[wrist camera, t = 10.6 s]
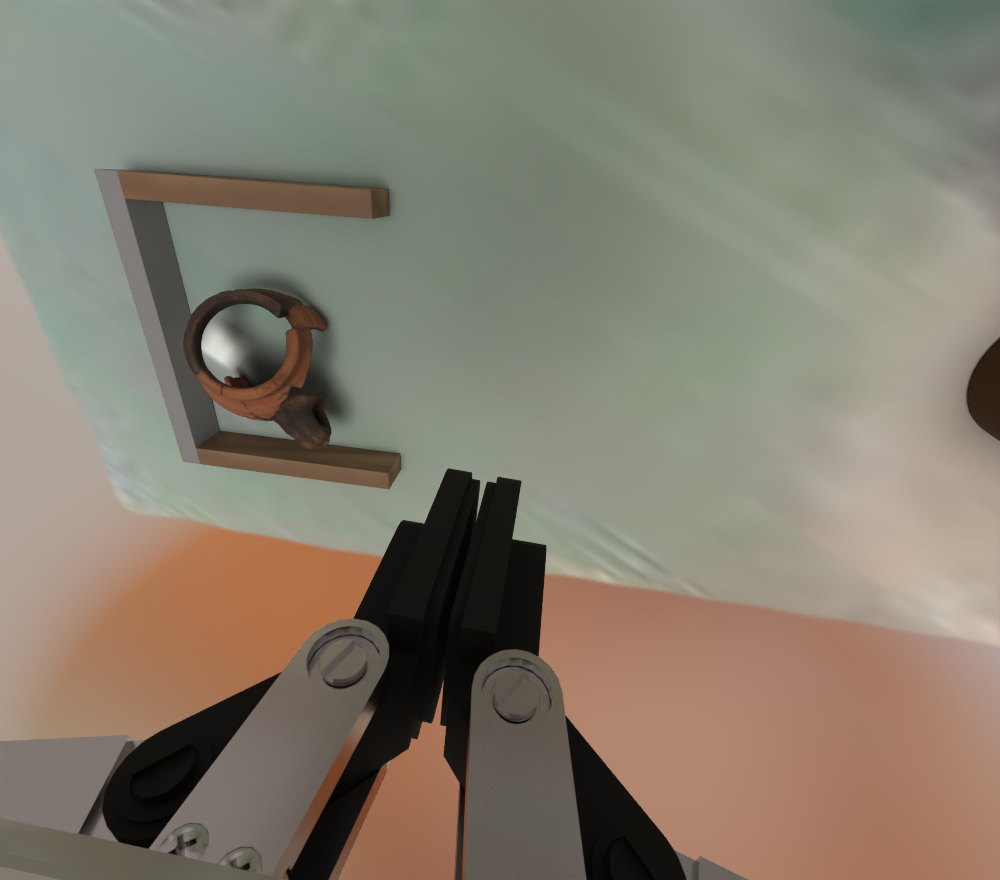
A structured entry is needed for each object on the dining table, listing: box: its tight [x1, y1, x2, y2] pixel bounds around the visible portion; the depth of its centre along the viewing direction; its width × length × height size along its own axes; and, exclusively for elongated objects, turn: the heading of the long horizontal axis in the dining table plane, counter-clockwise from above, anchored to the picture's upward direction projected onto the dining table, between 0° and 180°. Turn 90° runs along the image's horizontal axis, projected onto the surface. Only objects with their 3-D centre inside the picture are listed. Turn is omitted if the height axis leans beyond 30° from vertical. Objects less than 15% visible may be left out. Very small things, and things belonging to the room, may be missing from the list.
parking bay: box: [94, 169, 401, 489], centre depth 35 cm, size 21×18×3 cm
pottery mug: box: [183, 289, 331, 449], centre depth 35 cm, size 12×10×8 cm
